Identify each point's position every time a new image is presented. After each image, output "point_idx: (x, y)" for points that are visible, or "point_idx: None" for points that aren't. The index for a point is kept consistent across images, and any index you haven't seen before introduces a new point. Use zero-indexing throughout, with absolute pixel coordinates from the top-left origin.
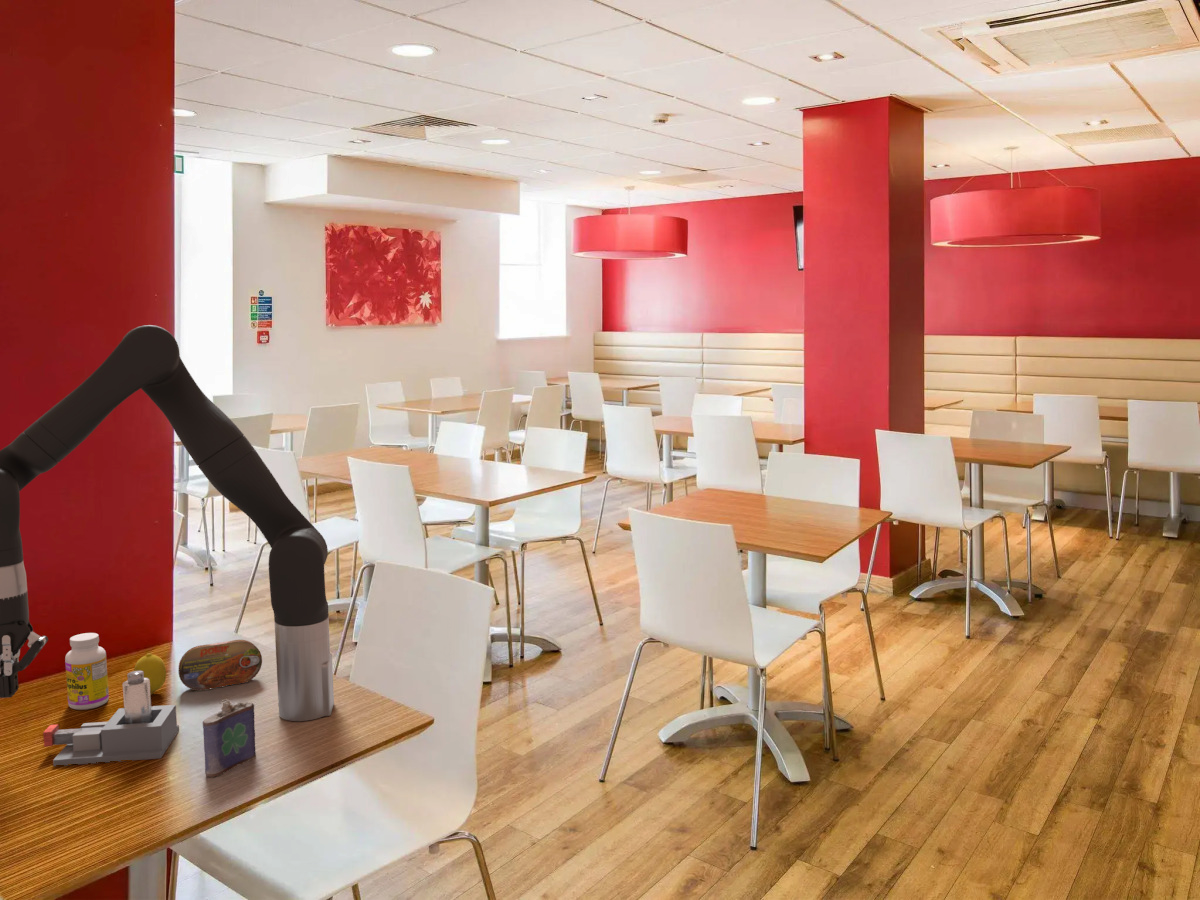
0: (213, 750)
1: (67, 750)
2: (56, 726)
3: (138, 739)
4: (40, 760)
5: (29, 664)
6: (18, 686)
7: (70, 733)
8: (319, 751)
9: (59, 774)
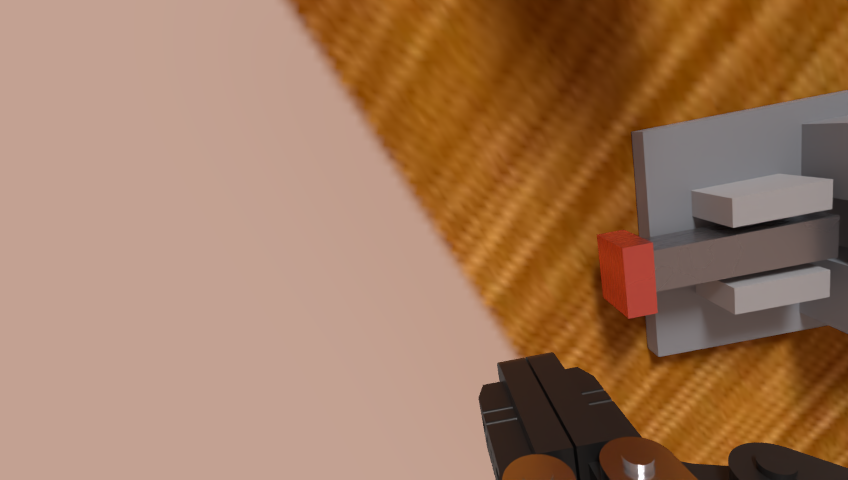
0: None
1: (673, 289)
2: (653, 260)
3: None
4: (586, 309)
5: (791, 454)
6: (597, 382)
7: (709, 281)
8: None
9: (688, 392)
